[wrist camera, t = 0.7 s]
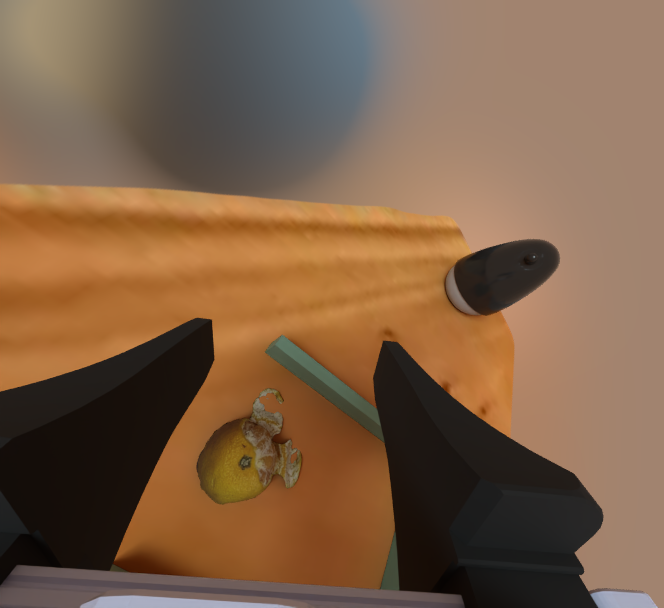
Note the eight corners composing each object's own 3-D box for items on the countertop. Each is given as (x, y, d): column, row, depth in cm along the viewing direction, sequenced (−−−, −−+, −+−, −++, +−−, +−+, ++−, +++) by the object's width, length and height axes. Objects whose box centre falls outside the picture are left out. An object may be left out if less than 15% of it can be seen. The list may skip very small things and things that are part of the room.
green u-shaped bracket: (360, 716, 20) (387, 754, 18) (91, 587, 16) (80, 615, 14) (422, 458, 31) (443, 461, 29) (271, 342, 27) (282, 334, 25)
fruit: (307, 470, 25) (327, 476, 22) (214, 536, 20) (224, 554, 17) (275, 384, 26) (290, 379, 24) (181, 426, 21) (184, 426, 19)
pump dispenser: (426, 271, 45) (522, 215, 33) (459, 266, 51) (550, 217, 39) (452, 328, 43) (564, 291, 31) (483, 316, 49) (587, 280, 37)
